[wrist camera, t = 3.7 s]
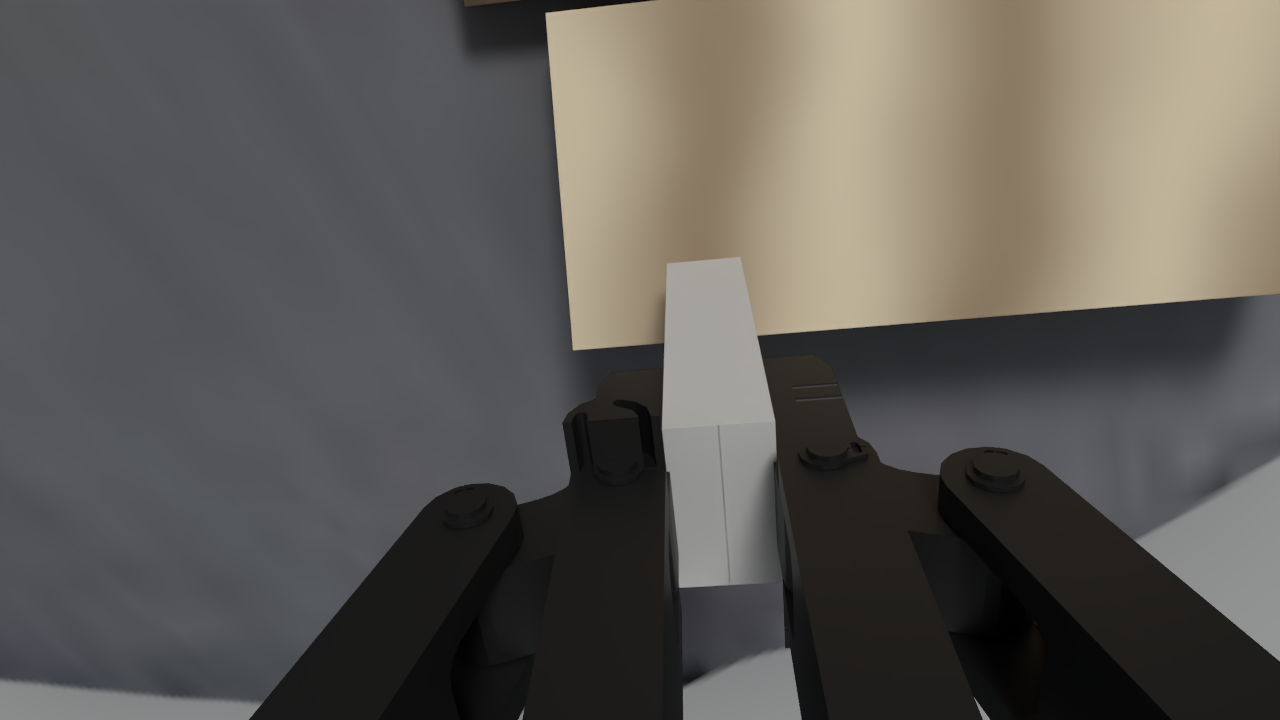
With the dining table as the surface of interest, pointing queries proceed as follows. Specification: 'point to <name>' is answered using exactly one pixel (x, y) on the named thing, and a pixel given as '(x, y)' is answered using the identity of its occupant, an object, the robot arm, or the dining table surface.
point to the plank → (915, 156)
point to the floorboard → (483, 2)
